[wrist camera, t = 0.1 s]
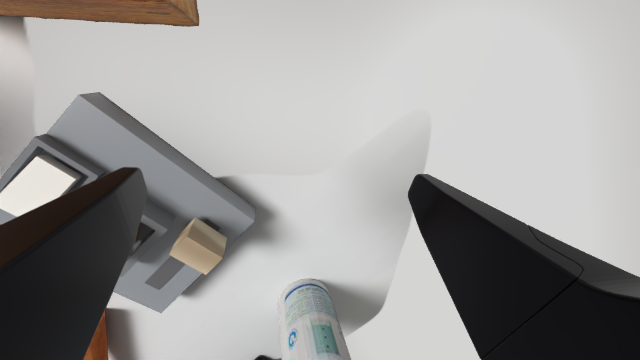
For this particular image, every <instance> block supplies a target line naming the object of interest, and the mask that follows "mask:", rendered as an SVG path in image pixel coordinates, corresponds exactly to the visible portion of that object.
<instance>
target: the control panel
mask: <svg viewBox="0 0 640 360" xmlns="http://www.w3.org/2000/svg"><path fill="white" fill-rule="evenodd" d="M44 154H46V155H48V156H50V157H51V158H53V159H55V160H56V161H58V162H60V163H61V164H63V165H65V166H66V167H68V168H70V169H71V170H73V171H75V172H76V173H78V174H80V175H81V176H83V177H82V178H81V179H80V180H79V181H78V182H77V183H76V184H75V185H74V186H73V187H72V188H71V189H70V190H69V191H68V192H67V193H69V192H71V191H73V190H75V189H77V188H79V187H81V186H84V185H86V184H88V183H90V182H92V181H94V180H96V179H98V178H101V177H103V176H105V175H107V174H109V173H111V172H113V171H115V170H117V169H120V168H122V167H138V168H140V169H141V171H142V173H143V177H144V180H145V184H146V187H147V191H148V196H147V200H146V204H145V207H144V211H143V214H142V218H141V221H140V225H139V238H138V240H137V242H136V243H135V244H134V246H133V247H132V249H131V251H130V254H129V256H128V258H127V261H126V263H125V265H124V267H123V270H122V272H121V274H120V277H119V279H118V281H117V284H116V286H115V288H114V290H113V292H115V293H117V294H119V295H122V296H124V297H126V298H128V299H131V300H133V301H135V302H137V303H140V304H142V305H144V306H146V307H148V308H151V309H153V310H155V311H157V312H160V313H162V312H163V311H164V310H165V309H166V308H167V307H168V306H169V305H170V304H171V303H172V302H173V301H174V300H175V299H176V298H177V297H178V296H179V295H180V294H181V293H182V292H183V291H184V290H185V289H186V288H187V287H188V286H189V285H190V284H191V283H192V282H193V281H194V280H195V279H197V278H198V277H199V276H200V275H201V274H202V273H201V272H199V271H198V270H196V269H194V268H192V267H190V266H189V265H187V264H185V263H183V262H181V261H180V260H178V259H176V258H174V257H172V256H171V255H169V254H170V252H171V250H172V248H173V246H174V244H175V242H176V240H177V238H178V236H179V234H180V232H181V231H182V230H183V229H184V228H185V227H186V226H187V225H188V224H189V223H190V222H191V221H192V220H193V219H194V218H195V217H196V218H197V219H199V220H200V221H202V222H203V223H205V224H206V225H208V226H210V227H211V228H213V229H214V230H216V231H217V232H219V233H220V234H222V235H223V236H225V237H227V240H226V246H225V250H226V249H227V248H228V247H229V246H230V245H231V244H232V243H233V242H234V241H235V240H236V239H237V238H238V237H239V236H240V235H241V234H242V233H243V232H244V231H245V230H246V229H247V228H248V227H249V226H250V225H251V224H252V223H253V222H254V221H255V208H254V207H253V206H251V205H250V204H249V203H247V202H246V201H245V200H243V199H242V198H241V197H239V196H238V195H237V194H235V193H234V192H233V191H231V190H230V189H229V188H227V187H226V186H225V185H223V184H222V183H221V182H219V181H218V180H217V179H215V178H214V177H212V176H211V175H210V174H208V173H207V172H206V171H204V170H203V169H202V168H200V167H199V166H198V165H196V164H195V163H194V162H192V161H191V160H190V159H188V158H187V157H186V156H184V155H183V154H181V153H180V152H179V151H178V150H176V149H175V148H174V147H172V146H171V145H170V144H168V143H167V142H166V141H164V140H163V139H162V138H160V137H159V136H157V135H156V134H155V133H154V132H152V131H151V130H149V129H148V128H147V127H145V126H144V125H142V124H141V123H140V122H139V121H137V120H136V119H135V118H133V117H132V116H131V115H129V114H128V113H126V112H125V111H124V110H123V109H121V108H120V107H119V106H117V105H116V104H115V103H113V102H112V101H110V100H109V99H108V98H107V97H105V96H104V95H103V94H101V93H100V92H98V93H89V94H81V95H78V96H77V97H76V99H75V100H74V101H73V102H72V103H71V105H70V106H69V107H68V108H67V109H66V111H65V112H64V113H63V114H62V115H61V117H60V118H59V119H58V120H57V121H56V123H55V124H54V125H53V126H52V127H51V129H50V130H49V131H48V132H47V134H44V135H40V136H37V137H34V139H33V140H32V141H31V142H30V143H29V145H28V146H27V147H26V148H25V150H24V151H23V152H22V153H21V154H20V156H19V157H18V158H17V159H16V160H15V162H14V163H13V164H12V165H11V167H10V168H9V169H8V170H7V171H6V173H5V174H4V175H3V176H2V177H1V179H0V193H1V192H2V191H3V190H4V189H5V188H6V187H7V186H8V185H9V184H10V183H11V182H12V181H13V180H14V179H15V178H16V177H17V176H18V175H19V174H20V172H21V171H22V170H23V169H24V168H25V167H26V166H27V165H28V164H29V163H30V162H31V161H32V160H33V159H34V158H35V157H36V156H40V155H44ZM67 193H66V194H67ZM14 218H16V216H14V215H12V214H10V213H8V212H6V211H4V210H2V209H0V225H1V224H3V223H5V222H7V221H10V220H12V219H14Z"/></svg>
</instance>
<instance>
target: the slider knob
mask: <svg viewBox="0 0 640 360" xmlns="http://www.w3.org/2000/svg"><path fill="white" fill-rule="evenodd" d="M226 240H227V237H225V236H223V235H222V234H220V233H219V232H217V231H216V230H214V229H213V228H211V227H210V226H208V225H206V224H205V223H203V222H202V221H200V220H199V219H197V218H196V217H195V218H194V219H193V220H192V221H191V222H190V223H189V224H188V225H187V226H186V227H185V228H184V229H183V230H182V231H181V232H180V234H179V236H178V238H177V240H176V242H175V244H174V246H173V248H172V250H171V252H170V254H169V255H171V256H172V257H174V258H176V259H178V260H180V261H181V262H183V263H185V264H187V265H189V266H190V267H192V268H194V269H196V270H198V271H199V272H201V273H203V274H205V275H207V274H208V273H209V272H210V271H211V270H212V269H213V268H214V267H215V266H216V265H217V264H218V263H219V262H220V261H221V260H222V259H223V256H224V251H225V246H226Z"/></svg>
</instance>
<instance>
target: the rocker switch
mask: <svg viewBox="0 0 640 360" xmlns="http://www.w3.org/2000/svg"><path fill="white" fill-rule="evenodd" d="M82 177H83V176H81V175H80V174H78V173H76V172H75V171H73V170H71V169H70V168H68V167H66V166H65V165H63V164H61V163H60V162H58V161H56V160H55V159H53V158H51V157H50V156H48V155H46V154H44V155H40V156H36V157H35V158H34V159H33V160H32V161H31V162H30V163H29V164H28V165H27V166H26V167H25V168H24V169H23V170H22V171H21V172H20V174H19V175H18V176H17V177H16V178H15V179H14V180H13V181H12V182H11V183H10V184H9V185H8V186H7V187H6V188H5V189H4V190H3V191H2V192H1V193H0V209H2V210H4V211H6V212H8V213H10V214H12V215H14V216H16V217H18V216H20V215H22V214H24V213H27V212H29V211H31V210H33V209H35V208H37V207H39V206H41V205H43V204H46V203H48V202H50V201H52V200H54V199H56V198H58V197H60V196H62V195H65V194H66V193H67V192H68V191H69V190H70V189H71V188H72V187H73V186H74V185H75V184H76V183H77V182H78V181H79V180H80V179H81V178H82Z"/></svg>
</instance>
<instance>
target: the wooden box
mask: <svg viewBox="0 0 640 360" xmlns="http://www.w3.org/2000/svg"><path fill="white" fill-rule="evenodd" d="M0 15H3V16H19V17H39V18H44V19H47V18H51V19H53V18H54V19H73V20H74V19H75V20H86V21H95V22H120V23H135V24H165V25H173V26H199V14H198V10H197V1H196V0H0Z"/></svg>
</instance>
